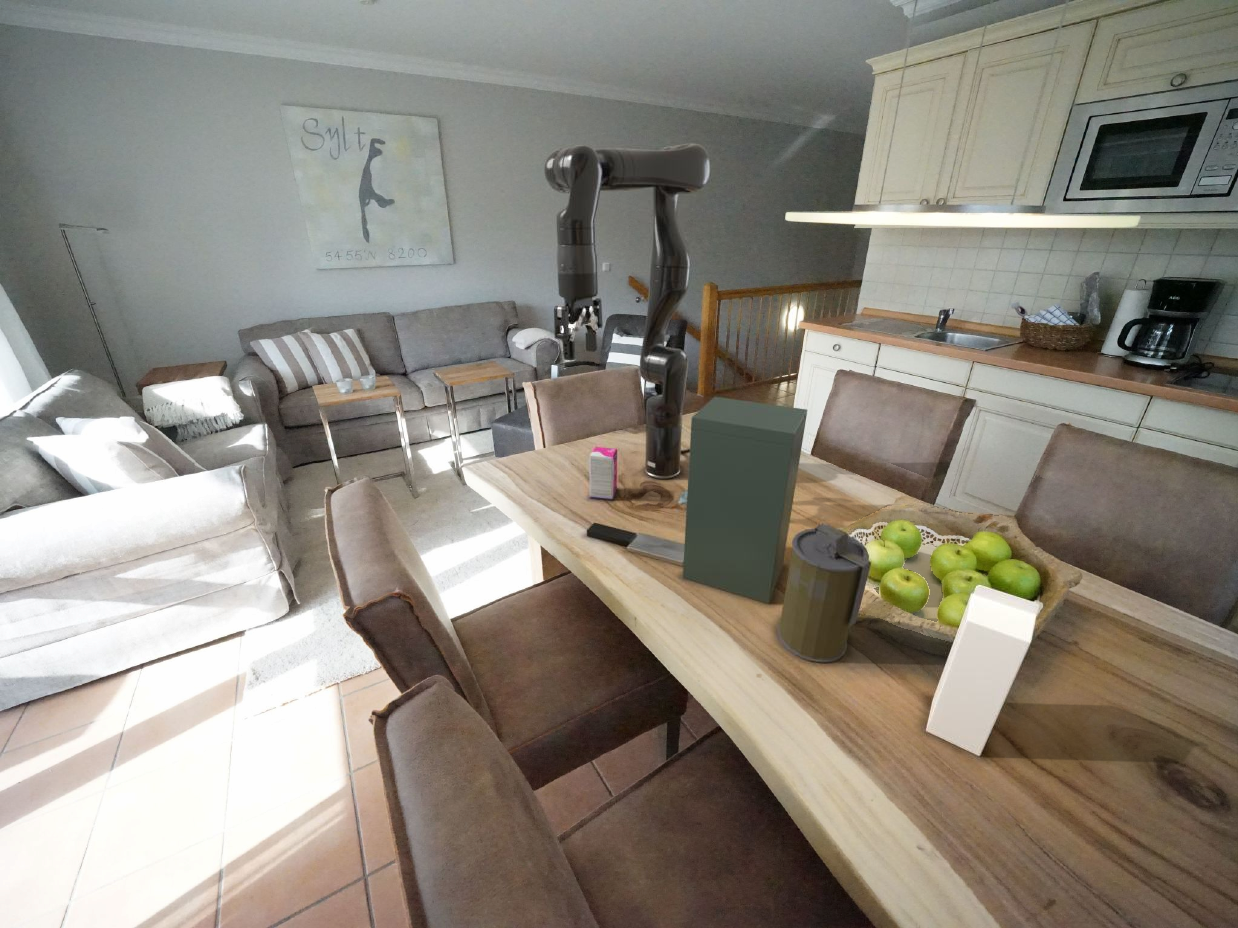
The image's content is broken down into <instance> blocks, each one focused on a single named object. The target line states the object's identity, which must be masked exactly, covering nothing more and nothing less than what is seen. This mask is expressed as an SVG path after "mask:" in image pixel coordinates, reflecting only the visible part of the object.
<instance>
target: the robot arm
mask: <svg viewBox="0 0 1238 928" xmlns="http://www.w3.org/2000/svg"><path fill="white" fill-rule="evenodd" d="M711 164H712V163H711V158H710V155H709V152H708V150H706V147H704V146H703V145H701V144H698V143H692V142H690V143H680V144H675V145H669V146H665V147H662V148H661V149H660V150H657V149H655V150H654V149H653V150H652V149H639V148H623V147H622V148H621V147H604V148H598V149H594V148H593V147H591V146H590V145H586V144H580V145H578V144H577V145H573V146H566V147H560V148H557V149H555V150H553V151H552V152H551V153H550V154H549V155H548V156H547V157H546V160H545V162H544V167H543V171H544V177H545V180H546V181H547V183H548V185H549V186H550V187H551V188H552V189H553V190H554V191H555V192H557V193H560V194H569V196H568V202H567V205H566V206H565V207H564V208H562V209H560V210H559V211H558V212H557V214H556V216H555V217H556V219H555V228H556V244H557V245H556V247H557V249H556V268H557V269H556V270H557V286H558V288H557V289H558V296H559V297H561V298H563V300H564V302H563V305H562V306H560V305H555V306H554V307H553V320H554V322H553V325H554V338H555V339H556V340H560V341H562V354H563V359H564V360H565V361H571V362H572V361H574V360H575V359H576V349H575V337H576V334H577V333H578V332H579V331H580V328H581V327H582V326H583V328H584V330H585V334H584V335H585V351H587V352H591V353H593V352H596V351H597V349H598V346H597V342H598V341H597V333H598V332H599V329H602V328H603V326H604V323H603V305H602V299H601V298H598V297H597V295H598V294H599V292H598V290H599V287H598V286H599V285H598V255H597V249H596V228H595V227H596V226H595V221H596V220H595V218H596V214H597V210H598V206H599V200H600V195H601V191H602V192H622V191H625V192H626V191H633V190H641V189H649V188H652V203H653V204H652V207H653V209H652V211H653V215H652V216H653V217H652V218H653V224H652V238H651V239H652V241H651V242H652V243H651V254H650V264H649V265H650V266H649V280H648V298H647V310H646V318H645V326H644V331H643V332H644V333H643V338H642V344H641V350H640V356H639V373H640V376H641V378H642V379H643V380H644V381H645V382H648V383H651V384H656V385H660V386H662V387H663V388H662V393H661V394H656V395H653V396H650V397H649V398H647V400H646V404H645V412H646V413H645V457H644V458H645V459H644V462H645V463H644V464H645V465H644V472H645V474H646V475H647V476H649V477H651V478H654V479H658V480H669V479H673V478H676V477H678V476H679V475H680V473H681V454H686V453H690V448H688V449H682V435H683V434H682V430H683V413H684V412H683V410H684V403H685V400H686V396H687V385H688V377H689V376H688V375H689V357H688V355H687V353H686V351H684V350H683V349H681V348H678V347H677V348H676V347H671V346H665V339H666V334H667V329H668V326H669V323H670V321H671V319H672V317H673V316H674V314H675V313H676V311H677V310H678V308H679V307H680V305H681V304H682V302H683V301H684V299H685V298H686V295H687V294H688V290H689V286H690V277H691V267H692V266H691V265H692V259H691V254H690V250H689V248H688V245H687V242H686V240H685V237H684V235H683V232H682V230H681V227H680V223H679V217H678V211H679V209H678V208H679V207H678V206H679V205H678V203H679V195H684V194H685V195H686V194H688V195H689V194H694V193H696V192H699V191H701V190H702V189H703V188H704V187H705V186H706V185H707V183H708V182H709V179H710V175H711V171H712V169H711V168H712V166H711ZM561 328H562V329H561Z"/></svg>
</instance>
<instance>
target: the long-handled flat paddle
mask: <svg viewBox="0 0 1238 928" xmlns="http://www.w3.org/2000/svg"><path fill="white" fill-rule="evenodd" d="M586 537H589V538H591V539H596V540H600V541H603V542H607V543H610V544H615V545H618V546H621V547H625V548H626V552H629V553H633V554H637V555H640V556H644V557H648V558H652V559H655V560H657V561H661V562H665V563H670V564H673V565H677V566H681V567H683V563H684V545H685V543H682V542H678V541H674V540H669V539H665V538H662V537H658V536H654V535H651V534H646V533H642V532H638V533H637V532H632V531H629V530H625V529H621V528H618V527H614V526H611V525H605V524H603V523H598V522H593V523H592V524H591V525H590V526H589V527H588V528H587V529H586Z"/></svg>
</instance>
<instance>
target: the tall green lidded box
mask: <svg viewBox="0 0 1238 928" xmlns="http://www.w3.org/2000/svg"><path fill="white" fill-rule="evenodd" d="M807 415H808V409H806V408H799V407H792V406H784V405H778V404H770V403H763V402H756V401H748V400H743V399H742V400H741V399H735V398H728V397H721V396H714V397H713V398H711V399H710V400H709V401H708V402H707V403H706V404H704V406H702V407H701V408H700V409H699V410H698V411H697V412H696V413H695V414H694V415H692V417H691V423H690V438H689V439H690V442H689V449H690V452H689V455H688V456H689V457H688V475H687V476H688V477H687V490H688V492H687V506H686V512H685V513H686V514H685V527H684V530H685V532H684V544H685V545H684V563H683V566H682V579H685V580H688V581H691V582H694V583H698V584H701V585H704V586H708V587H711V588H714V589H717V590H721V591H725V592H727V593H730V594H731V593H732V594H734V595H737V596H741V597H744V598H748V599H750V600H754V601H757V602H761V603H764V604H768V605H769V604H770V603H771V600H772V597H773V594H774V591H775V589H776V586H777V583H778V581H779V577H780V575H781V572H782V569H783V566H784V561H785V554H786V549H787V541H788V535H789V529H790V522H791V517H792V512H793V511H792V510H793V504H794V498H795V491H796V485H797V479H798V473H799V467H800V461H801V460H800V459H801V454H802V449H803V448H802V447H803V442H804V441H803V440H804V435H805V430H806V429H805V428H806V422H807V417H808V416H807Z"/></svg>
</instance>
